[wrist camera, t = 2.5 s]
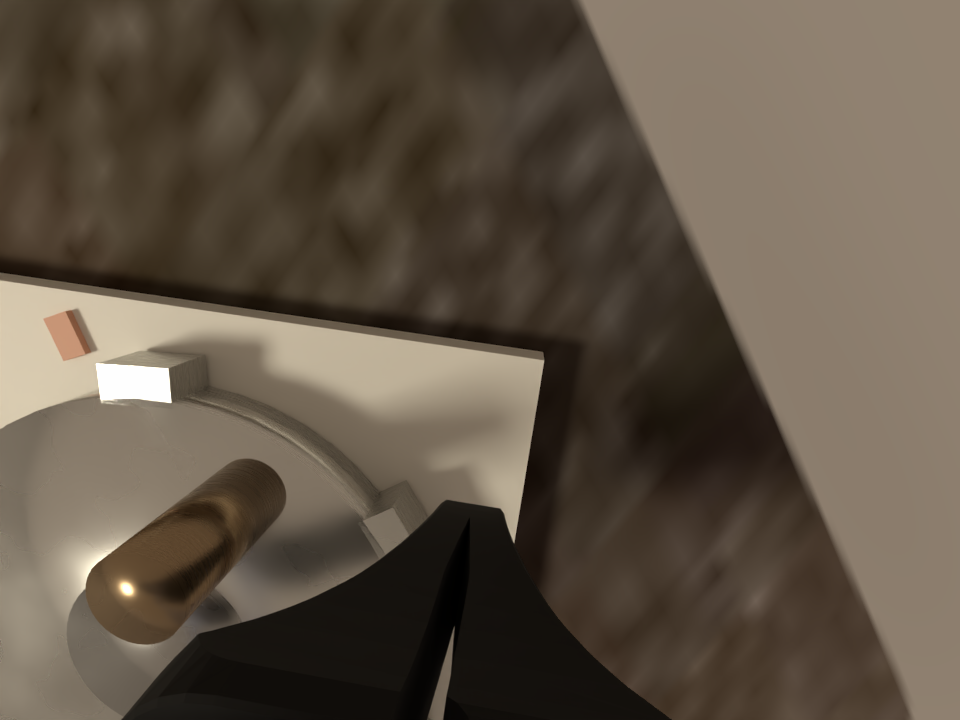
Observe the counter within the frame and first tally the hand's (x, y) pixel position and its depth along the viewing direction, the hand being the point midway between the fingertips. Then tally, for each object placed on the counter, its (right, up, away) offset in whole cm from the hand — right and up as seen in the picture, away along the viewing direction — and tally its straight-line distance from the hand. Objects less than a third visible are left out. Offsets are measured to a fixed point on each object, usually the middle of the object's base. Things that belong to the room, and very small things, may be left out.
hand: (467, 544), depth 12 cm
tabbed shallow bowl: (-8, -3, +4) cm, 10 cm away
